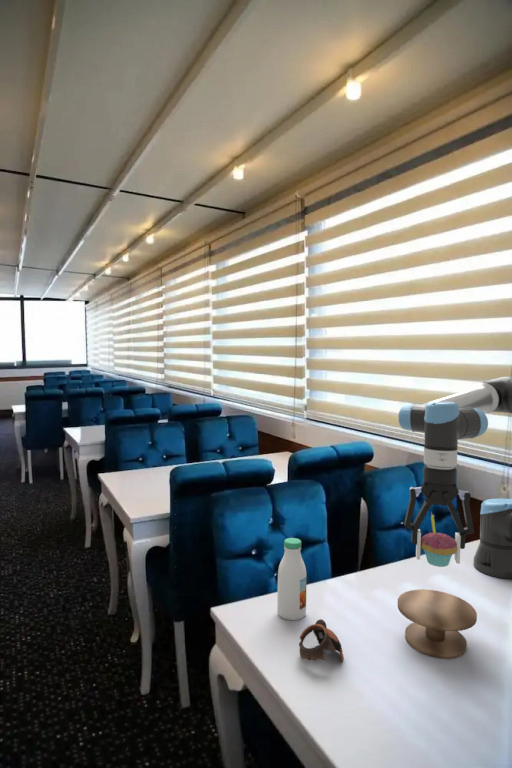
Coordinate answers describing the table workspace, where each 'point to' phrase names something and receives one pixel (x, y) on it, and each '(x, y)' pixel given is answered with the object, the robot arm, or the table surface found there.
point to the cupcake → (438, 547)
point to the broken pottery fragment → (320, 642)
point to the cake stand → (436, 622)
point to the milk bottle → (292, 582)
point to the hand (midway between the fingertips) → (437, 559)
